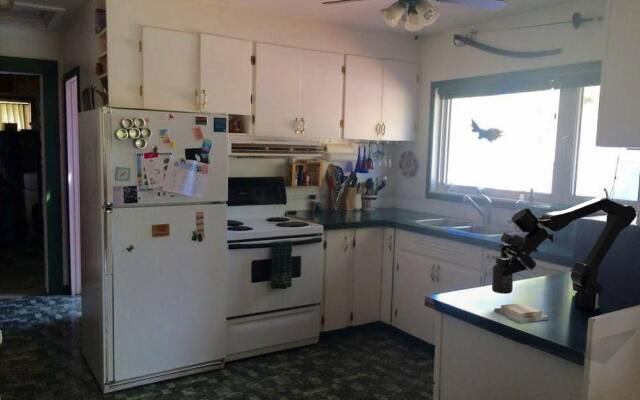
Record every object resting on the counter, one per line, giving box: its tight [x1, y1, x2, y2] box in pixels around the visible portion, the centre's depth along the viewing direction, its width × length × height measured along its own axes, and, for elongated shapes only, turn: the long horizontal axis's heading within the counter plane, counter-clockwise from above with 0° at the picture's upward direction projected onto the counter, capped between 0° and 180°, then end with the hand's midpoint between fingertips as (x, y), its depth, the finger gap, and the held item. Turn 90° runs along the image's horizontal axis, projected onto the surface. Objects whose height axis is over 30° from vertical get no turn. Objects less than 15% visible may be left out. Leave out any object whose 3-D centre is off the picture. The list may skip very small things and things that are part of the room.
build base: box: [493, 302, 550, 324], centre depth 172 cm, size 12×12×2 cm
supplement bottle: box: [491, 256, 514, 295], centre depth 179 cm, size 7×7×12 cm
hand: (498, 272), depth 179 cm, fingers closed on supplement bottle, 7 cm apart
